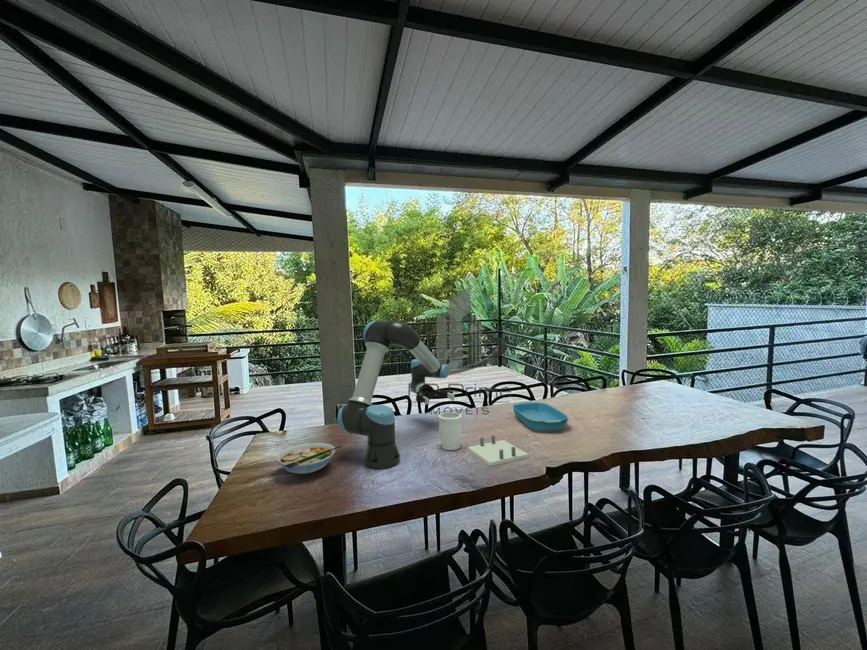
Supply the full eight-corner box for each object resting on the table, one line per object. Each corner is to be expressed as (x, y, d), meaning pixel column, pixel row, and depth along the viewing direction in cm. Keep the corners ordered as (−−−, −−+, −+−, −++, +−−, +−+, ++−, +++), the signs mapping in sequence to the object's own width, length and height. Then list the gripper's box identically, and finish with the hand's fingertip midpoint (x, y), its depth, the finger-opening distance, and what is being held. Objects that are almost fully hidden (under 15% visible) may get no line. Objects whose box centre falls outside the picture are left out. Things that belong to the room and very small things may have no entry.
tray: (489, 466, 156) (489, 454, 156) (467, 450, 173) (467, 439, 173) (528, 457, 163) (528, 446, 163) (503, 442, 181) (503, 432, 180)
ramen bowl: (317, 454, 175) (316, 436, 175) (349, 466, 161) (348, 447, 160) (264, 474, 156) (263, 454, 155) (295, 490, 141) (293, 468, 141)
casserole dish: (576, 432, 192) (575, 418, 191) (533, 436, 188) (533, 422, 188) (543, 412, 228) (543, 400, 228) (507, 415, 225) (507, 403, 224)
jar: (437, 450, 174) (436, 418, 173) (442, 442, 184) (441, 411, 183) (460, 452, 172) (459, 419, 171) (464, 443, 182) (463, 412, 181)
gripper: (446, 394, 212) (464, 403, 192) (403, 401, 202) (417, 411, 182) (445, 381, 211) (463, 389, 191) (402, 387, 201) (416, 396, 182)
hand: (441, 400), depth 187 cm, fingers open, 13 cm apart
